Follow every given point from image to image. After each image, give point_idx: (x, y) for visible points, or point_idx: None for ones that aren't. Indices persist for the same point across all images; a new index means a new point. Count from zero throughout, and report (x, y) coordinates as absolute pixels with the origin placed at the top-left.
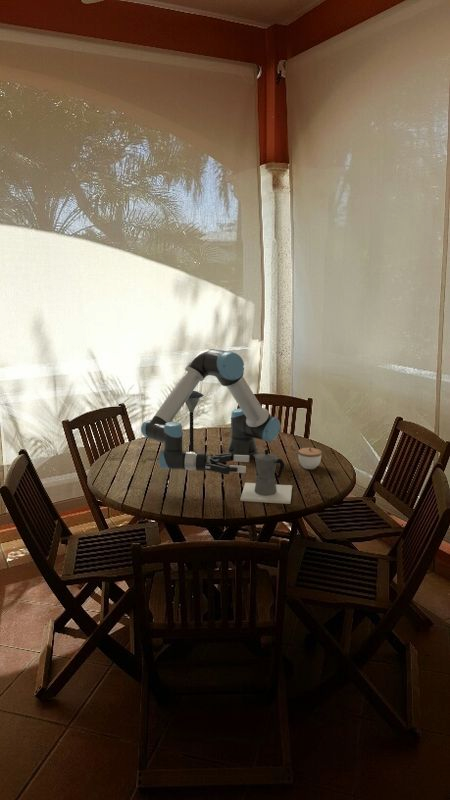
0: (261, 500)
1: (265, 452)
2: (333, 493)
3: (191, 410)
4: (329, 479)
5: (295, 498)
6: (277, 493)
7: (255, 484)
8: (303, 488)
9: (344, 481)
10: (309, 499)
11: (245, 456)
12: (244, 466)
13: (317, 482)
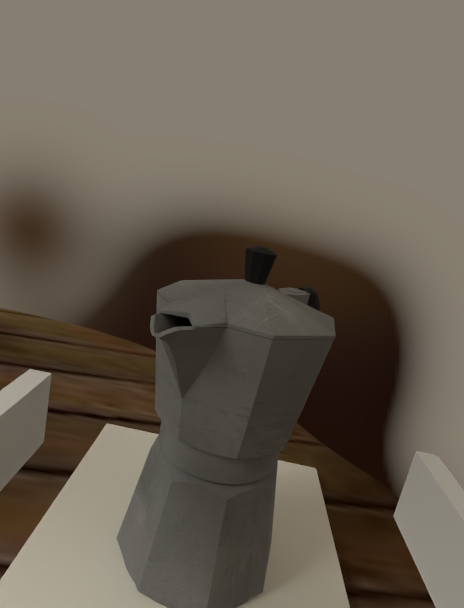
0: (343, 594)
1: (270, 268)
2: None
3: None
4: (48, 343)
5: None
6: None
7: (26, 591)
8: (123, 408)
9: (80, 330)
10: None
11: (27, 401)
12: (443, 464)
13: (66, 367)
